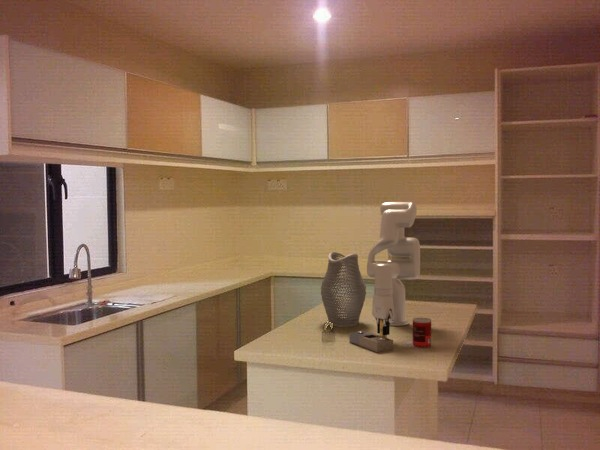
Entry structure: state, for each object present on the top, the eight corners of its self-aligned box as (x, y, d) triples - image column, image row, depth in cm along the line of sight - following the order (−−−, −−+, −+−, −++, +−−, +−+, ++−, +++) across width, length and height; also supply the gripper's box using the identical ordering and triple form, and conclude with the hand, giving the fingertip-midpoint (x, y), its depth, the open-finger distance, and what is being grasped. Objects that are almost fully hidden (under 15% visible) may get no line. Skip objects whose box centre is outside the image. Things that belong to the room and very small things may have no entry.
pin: (378, 339, 253) (378, 316, 253) (384, 338, 255) (384, 316, 255) (382, 341, 251) (382, 318, 250) (388, 340, 252) (388, 317, 252)
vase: (313, 325, 282) (312, 254, 281) (332, 317, 302) (331, 250, 300) (355, 330, 272) (355, 255, 270) (372, 321, 291) (372, 251, 290)
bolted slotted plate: (349, 342, 249) (349, 331, 249) (364, 339, 253) (364, 329, 253) (376, 352, 232) (376, 341, 231) (393, 350, 235) (393, 338, 235)
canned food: (428, 342, 247) (428, 317, 246) (433, 347, 239) (433, 321, 238) (410, 343, 246) (410, 317, 246) (415, 348, 238) (415, 321, 238)
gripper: (365, 290, 257) (365, 331, 258) (387, 295, 243) (387, 338, 244) (379, 288, 261) (379, 329, 262) (402, 293, 246) (402, 336, 247)
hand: (383, 333), depth 253 cm, fingers closed on pin, 3 cm apart
